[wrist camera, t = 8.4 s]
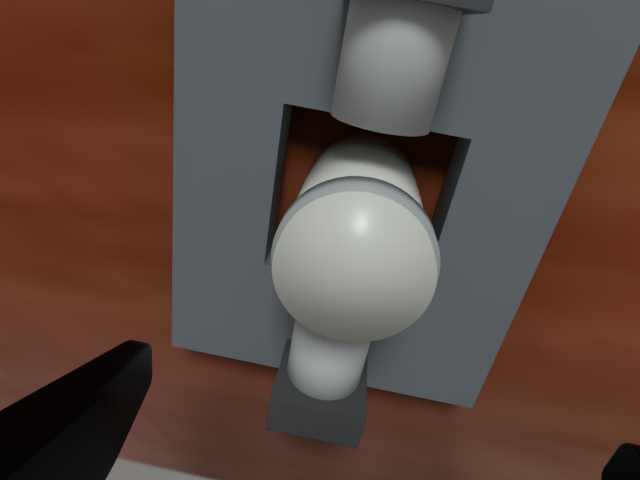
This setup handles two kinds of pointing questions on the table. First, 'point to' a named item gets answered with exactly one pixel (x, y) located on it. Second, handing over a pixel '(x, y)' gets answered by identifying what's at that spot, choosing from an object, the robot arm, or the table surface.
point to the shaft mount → (395, 119)
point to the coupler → (356, 244)
